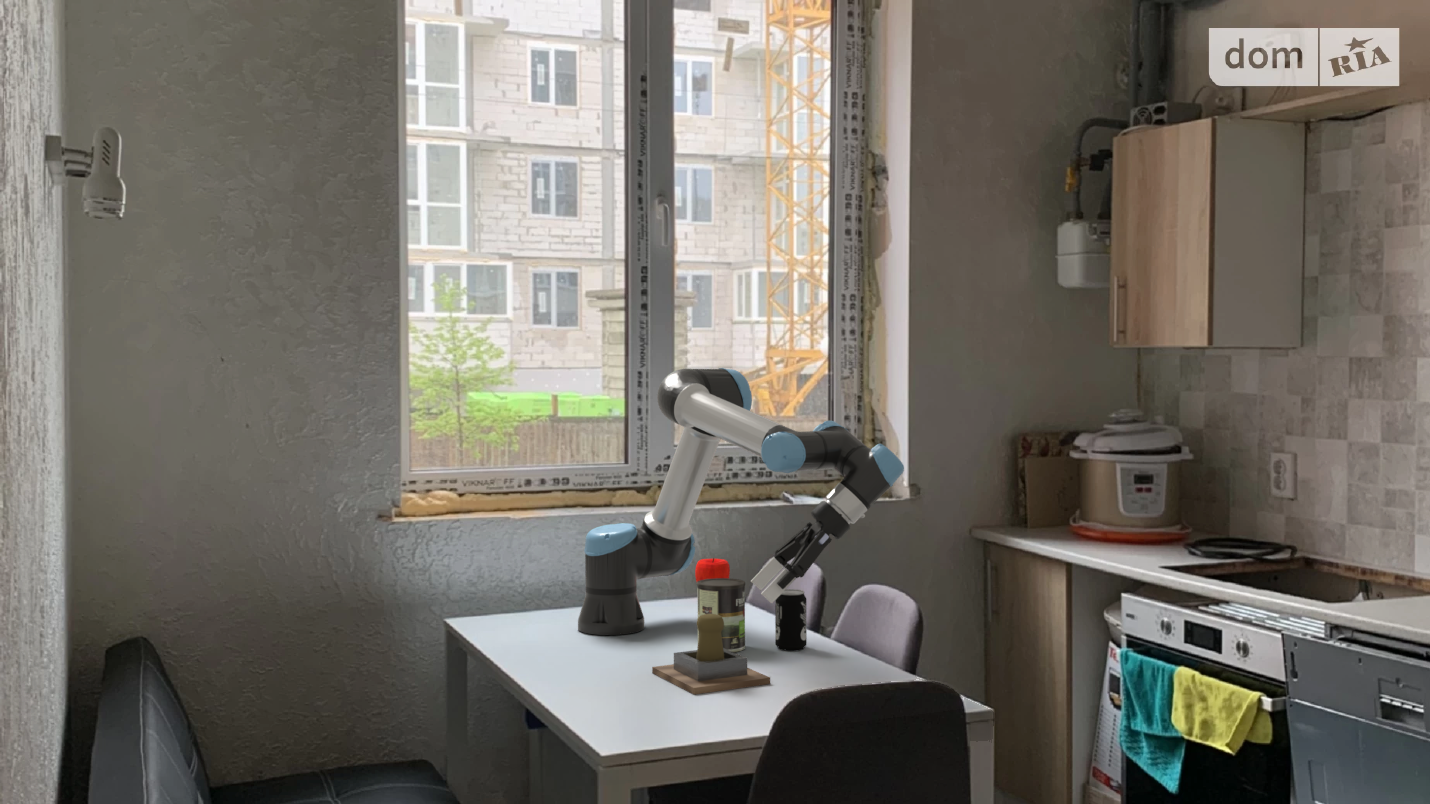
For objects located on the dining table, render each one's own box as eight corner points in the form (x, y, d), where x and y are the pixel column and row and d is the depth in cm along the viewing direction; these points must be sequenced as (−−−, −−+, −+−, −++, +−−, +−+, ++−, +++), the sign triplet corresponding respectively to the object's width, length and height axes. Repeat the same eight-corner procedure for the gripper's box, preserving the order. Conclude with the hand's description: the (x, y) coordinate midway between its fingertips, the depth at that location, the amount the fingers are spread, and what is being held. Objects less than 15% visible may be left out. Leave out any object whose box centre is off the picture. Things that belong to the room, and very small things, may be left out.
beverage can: (797, 652, 253) (797, 595, 253) (769, 649, 257) (769, 592, 257) (811, 646, 259) (811, 590, 259) (784, 643, 262) (784, 587, 262)
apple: (692, 602, 310) (692, 560, 310) (698, 596, 318) (698, 555, 318) (727, 603, 308) (727, 560, 308) (732, 597, 317) (732, 555, 317)
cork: (730, 669, 234) (730, 612, 234) (720, 677, 228) (720, 618, 228) (700, 667, 236) (700, 610, 236) (690, 674, 230) (689, 616, 230)
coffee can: (749, 643, 262) (749, 578, 262) (740, 654, 252) (740, 586, 252) (702, 641, 264) (702, 577, 264) (692, 652, 254) (691, 585, 254)
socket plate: (652, 673, 236) (652, 650, 236) (725, 663, 244) (724, 641, 244) (693, 694, 220) (693, 670, 220) (770, 683, 228) (770, 660, 228)
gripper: (866, 534, 222) (785, 618, 221) (837, 518, 247) (764, 593, 245) (838, 505, 221) (756, 590, 220) (812, 492, 246) (738, 568, 245)
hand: (760, 592), depth 233 cm, fingers open, 13 cm apart
